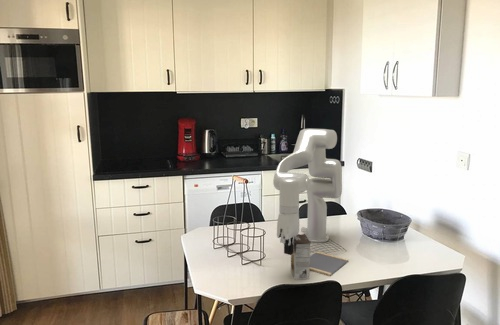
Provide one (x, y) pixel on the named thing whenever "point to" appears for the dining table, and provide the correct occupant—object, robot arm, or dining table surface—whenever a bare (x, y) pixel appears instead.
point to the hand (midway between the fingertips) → (288, 253)
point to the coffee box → (300, 257)
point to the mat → (326, 263)
